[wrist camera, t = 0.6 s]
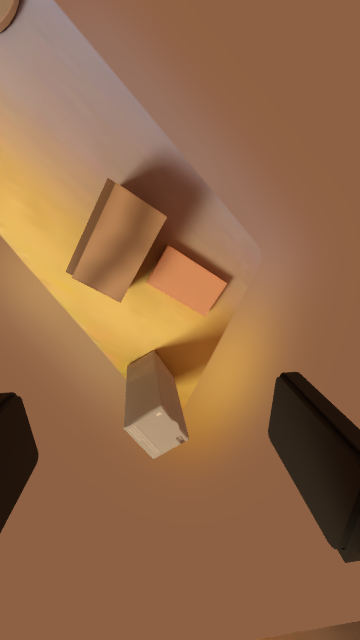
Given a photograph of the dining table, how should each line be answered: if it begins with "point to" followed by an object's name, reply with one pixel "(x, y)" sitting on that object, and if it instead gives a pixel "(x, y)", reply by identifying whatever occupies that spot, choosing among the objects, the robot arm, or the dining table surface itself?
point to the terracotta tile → (186, 281)
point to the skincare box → (153, 406)
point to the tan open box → (115, 241)
